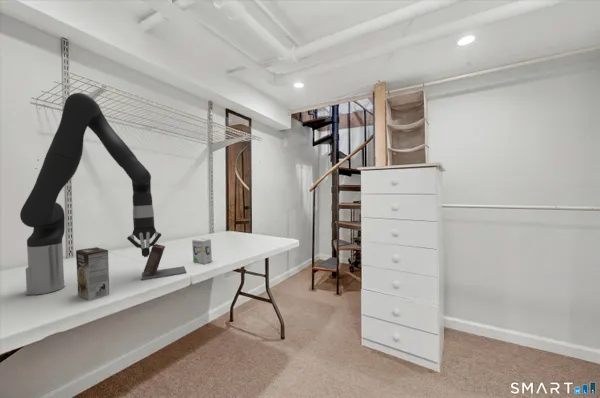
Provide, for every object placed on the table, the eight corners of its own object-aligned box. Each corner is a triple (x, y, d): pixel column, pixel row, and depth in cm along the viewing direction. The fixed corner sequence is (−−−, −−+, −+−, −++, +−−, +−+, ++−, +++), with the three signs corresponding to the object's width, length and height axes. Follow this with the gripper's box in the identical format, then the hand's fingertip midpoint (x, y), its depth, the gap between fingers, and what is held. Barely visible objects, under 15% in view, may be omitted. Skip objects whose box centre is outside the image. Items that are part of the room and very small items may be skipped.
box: (154, 275, 107) (162, 248, 108) (142, 273, 106) (151, 245, 107) (157, 271, 113) (165, 245, 114) (146, 270, 111) (154, 243, 112)
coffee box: (76, 295, 89) (75, 250, 88) (98, 289, 95) (97, 246, 94) (88, 301, 84) (86, 253, 84) (110, 294, 90) (108, 249, 89)
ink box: (212, 261, 130) (211, 239, 129) (204, 264, 125) (203, 240, 125) (200, 259, 134) (199, 237, 133) (192, 262, 129) (191, 239, 129)
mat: (141, 280, 103) (141, 279, 103) (142, 273, 112) (142, 272, 112) (186, 273, 112) (186, 271, 112) (184, 267, 121) (184, 266, 121)
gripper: (123, 218, 101) (126, 261, 101) (161, 215, 107) (163, 255, 108) (125, 216, 107) (128, 257, 108) (161, 214, 114) (163, 252, 114)
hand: (146, 256), depth 108 cm, fingers closed
